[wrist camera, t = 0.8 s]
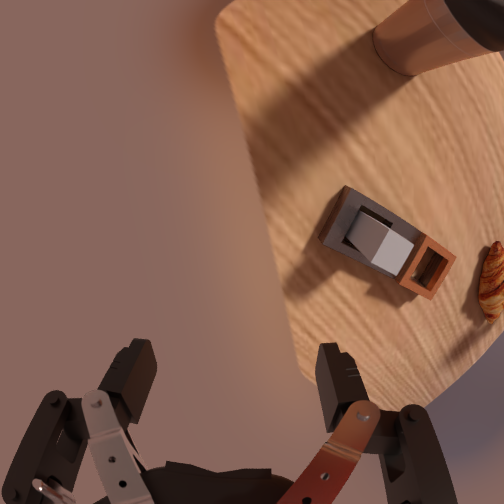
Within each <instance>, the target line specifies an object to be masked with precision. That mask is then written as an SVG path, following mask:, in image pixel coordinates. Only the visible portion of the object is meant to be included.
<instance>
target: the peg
mask: <svg viewBox="0 0 504 504" xmlns="http://www.w3.org/2000/svg"><path fill="white" fill-rule="evenodd" d="M345 236H346V237H347V238H348V239H349V240H350V241H351V242H352V244H353V245H354V246H355V247H356V248H357V249H358V250H359V251H360V252H361V253H362V254H363V255H364V256H365V257H366V258H367V259H368V260H369V261H370V262H371V263H373V264H375V265H377V266H379V267H381V268H383V269H385V270H386V271H388V272H390V273H392V274H394V275H396V276H397V274H398V272H399V271H400V269H401V267H402V266H403V264H404V262H405V261H406V259H407V257H408V255H409V254H410V252H411V250H412V248H413V247H414V244H412V243H411V242H409V241H408V240H406V239H405V238H403V237H402V236H400V235H399V234H397V233H396V232H394V231H393V230H391V229H390V228H388V227H387V226H385V225H384V224H382V223H381V222H379V221H377V220H376V219H374V218H372V217H371V216H369V215H367V214H365V213H364V212H362V211H360V210H358V212H357V214H356V216H355V218H354V220H353V222H352V223H351V225H350V227H349V229H348V231H347V233H346V235H345Z"/></svg>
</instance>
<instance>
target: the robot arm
mask: <svg viewBox="0 0 504 504" xmlns="http://www.w3.org/2000/svg"><path fill="white" fill-rule="evenodd" d="M373 42H374V46H375V49H376V51H377V53H378V54H379V56H380V58H381V59H382V60H383V61H384V62H385V63H386V64H387V65H388V66H389V67H390V68H392V69H393V70H394V71H396V72H398V73H400V74H403V75H407V76H413V75H418V74H420V73H423V72H426V71H429V70H433V69H436V68H439V67H442V66H445V65H448V64H452V63H455V62H458V61H462V60H466V59H469V58H473V57H477V56H481V55H484V54H489V53H493V52H498V51H502V50H504V0H409V1H407V2H406V3H405V4H404V5H402V6H401V7H400V8H399V9H397V10H396V11H395V12H394V13H392V14H391V15H390V16H389V17H387V18H386V19H385V20H384V21H383V22H381V23H380V24H379V25H378V26H377V27H376V28H375V30H374V33H373ZM156 372H157V362H156V359H155V355H154V352H153V349H152V345H151V342H150V341H149V340H147V339H137V338H134V339H133V340H132V342H131V344H130V346H129V348H127V347H124V348H123V349H122V350H121V351H119V353H117V355H116V357H115V358H114V360H113V362H112V364H111V365H110V368H109V369H108V371H107V373H106V374H105V376H104V378H103V380H102V382H101V384H100V385H99V387H98V389H97V390H92V391H90V392H88V393H86V394H85V395H84V397H83V398H72V399H71V398H70V399H69V398H67V397H66V395H65V394H64V393H63V392H62V391H59V390H55V391H51V392H49V393H48V394H46V396H45V397H44V398H43V400H42V402H41V404H40V406H39V408H38V409H37V411H36V413H35V415H34V417H33V419H32V421H31V423H30V425H29V427H28V429H27V431H26V433H25V435H24V437H23V439H22V441H21V443H20V445H19V448H18V450H17V452H16V454H15V457H14V459H13V461H12V464H11V466H10V468H9V471H8V474H7V476H6V479H5V481H4V484H3V487H2V497H3V500H4V501H5V503H6V504H76V500H75V498H74V496H73V494H72V491H73V488H74V484H75V481H76V478H77V474H78V471H79V468H80V465H81V462H82V459H83V456H84V453H85V450H86V447H87V444H88V445H89V448H90V451H91V454H92V457H93V460H94V463H95V466H96V469H97V471H98V474H99V476H100V479H101V481H102V484H103V486H104V489H105V491H106V493H107V496H106V497H104V498H102V499H100V500H99V501H97V502H95V503H94V504H332V502H333V501H334V500H335V498H336V497H337V495H338V494H339V492H340V491H341V489H342V488H343V486H344V485H345V483H346V481H347V480H348V478H349V477H350V475H351V473H352V472H353V470H354V468H355V467H356V465H357V463H358V461H359V460H360V458H361V454H362V453H370V454H379V459H380V463H381V468H382V473H383V478H384V483H385V489H386V495H387V501H388V504H458V503H457V498H456V495H455V491H454V487H453V484H452V481H451V477H450V474H449V471H448V468H447V465H446V461H445V458H444V456H443V453H442V450H441V447H440V444H439V441H438V439H437V436H436V433H435V431H434V428H433V425H432V423H431V421H430V418H429V416H428V413H427V411H426V410H425V409H424V408H423V407H421V406H419V405H415V404H411V405H407V406H405V407H403V408H402V409H401V411H400V412H396V411H385V410H381V409H379V408H378V406H377V405H376V404H374V403H373V402H370V400H369V398H368V395H367V392H366V389H365V387H364V384H363V381H362V379H361V376H360V373H359V371H358V369H357V365H356V363H355V360H354V359H353V358H352V357H351V356H350V355H349V354H348V353H347V352H344V353H340V350H339V348H338V345H337V343H336V342H335V343H321V344H320V346H319V351H318V356H317V362H316V368H315V376H316V382H317V386H318V390H319V396H320V401H321V405H322V410H323V416H324V420H325V426H326V430H327V433H330V432H333V434H332V435H331V437H330V438H329V440H328V441H327V442H325V443H324V445H323V446H322V447H321V449H320V450H319V452H318V453H317V454H316V456H315V457H314V458H313V460H312V461H311V462H310V464H309V465H308V466H307V468H306V469H305V470H304V471H303V472H302V474H301V475H300V476H299V478H298V479H297V480H296V481H295V482H293V481H291V480H289V479H287V478H284V477H282V476H278V475H273V474H271V469H239V470H234V471H227V472H220V473H216V472H212V471H209V470H206V469H203V468H200V467H197V466H194V465H191V464H183V463H177V462H170V461H166V466H165V467H157V468H153V469H150V470H149V468H148V467H147V465H146V464H145V462H144V461H143V459H142V457H141V455H140V453H139V451H138V449H137V447H136V445H135V443H134V441H133V438H132V436H131V434H130V432H129V430H128V425H129V423H134V424H138V422H139V419H140V416H141V413H142V410H143V408H144V405H145V402H146V400H147V397H148V394H149V391H150V389H151V386H152V383H153V381H154V378H155V376H156ZM61 431H62V433H61ZM60 434H61V435H60ZM59 436H60V437H59ZM58 438H59V440H58ZM57 441H58V442H57ZM56 444H57V445H56Z"/></svg>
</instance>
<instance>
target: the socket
mask: <svg viewBox="0 0 504 504" xmlns="http://www.w3.org/2000/svg"><path fill="white" fill-rule="evenodd" d="M361 205H363V206H365V207H366V208H368V209H370V210H372V211H373V212H375V213H377V214H378V215H380V216H382V217H383V218H385V220H384V222H383V224H384V225H385V226H387V227H388V228H390V229H391V230H393V231H394V232H396V233H397V234H399V235H400V236H402V237H403V238H405V239H406V240H408V241H409V242H411V243H412V244H414V247H413V248H412V250H411V252H410V254H409V255H408V257H407V259H406V261H405V262H404V264H403V266H402V267H401V269H400V271H399V272H398V274H397V276H396V275H394V274H392V273H390V272H388V271H386V270H385V269H383V268H381V267H379V266H377V265H375V264H373V263H371V262H370V261H369V260H368V259H367V258H366V257H365V256H364V255H363V254H362V253H361V252H360V251H359V250H358V249H357V248H356V247H355V246H353V245H351V244H349V243H347V242H345V241H343V238H344V236H345V235H346V233H347V231H348V229H349V227H350V225H351V223H352V222H353V220H354V218H355V216H356V214H357V212H358V210H359V208H360V206H361ZM318 239H319V240H320V241H321V243H322V244H323V245H326V246H328V247H330V248H332V249H334V250H336V251H338V252H340V253H342V254H344V255H346V256H348V257H351V258H353V259H355V260H357V261H359V262H361V263H363V264H365V265H367V266H369V267H371V268H373V269H375V270H377V271H379V272H381V273H383V274H385V275H387V276H389V277H391V278H393V279H395V280H396V281H397V282H398V284H400V285H402V286H404V287H406V288H408V289H410V290H412V291H414V292H415V293H417V294H419V295H421V296H423V297H425V298H427V299H429V300H431V299H432V298H433V296H434V295H435V293H436V292H437V290H438V288H439V287H440V285H441V283H442V282H443V280H444V278H445V277H446V275H447V273H448V272H449V270H450V268H451V266H452V265H453V263H454V261H455V259H456V256H454V255H453V254H452V253H451V252H449V251H448V250H447V249H445V248H444V247H443V246H441V245H440V244H438V243H437V242H436V241H434V240H433V239H432V238H430V237H429V236H427V235H426V234H424V233H422V232H421V231H419V230H418V229H416V228H415V227H414V226H412V225H411V224H409V223H408V222H406V221H405V220H403V219H401V218H400V217H398V216H397V215H395V214H394V213H392V212H391V211H389V210H387V209H386V208H384V207H383V206H381V205H379V204H378V203H376V202H375V201H373V200H371V199H370V198H368V197H366V196H364V195H363V194H361V193H359V192H358V191H356V190H354V189H352V188H350V187H348V186H346V185H345V187H344V189H343V191H342V193H341V195H340V197H339V199H338V201H337V203H336V205H335V207H334V209H333V210H332V212H331V214H330V216H329V218H328V220H327V222H326V224H325V226H324V228H323V230H322V231H321V233H320V235H319V237H318ZM428 247H430V248H431V249H433V250H434V251H435V253H434V255H433V257H432V259H431V260H430V262H429V264H428V266H427V267H426V269H425V271H424V273H423V274H422V276H421V278H420V279H419V280H417V279H415V278H413V277H411V275H412V274H413V272H414V270H415V269H416V267H417V265H418V264H419V262H420V260H421V258H422V257H423V255H424V253H425V251H426V249H427V248H428Z"/></svg>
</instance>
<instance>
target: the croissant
mask: <svg viewBox="0 0 504 504" xmlns="http://www.w3.org/2000/svg"><path fill="white" fill-rule="evenodd" d="M478 298H479V303H480V306H481V307H482V309H483V312H484V314H485V317H486V319H487V321H488V323H490V324H493V321H495V320H496V319H497V318H498V317H499V316H500V312H501V311H502V310H503V309H504V248H503V247H502V245H501V243H500V241H495V242H494V243H493V244H492V246H491V249H490V252H489V255H488V256H487V257H486V259H485V261H484V264H483V270H482V274H481V277H480V287H479V295H478Z"/></svg>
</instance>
